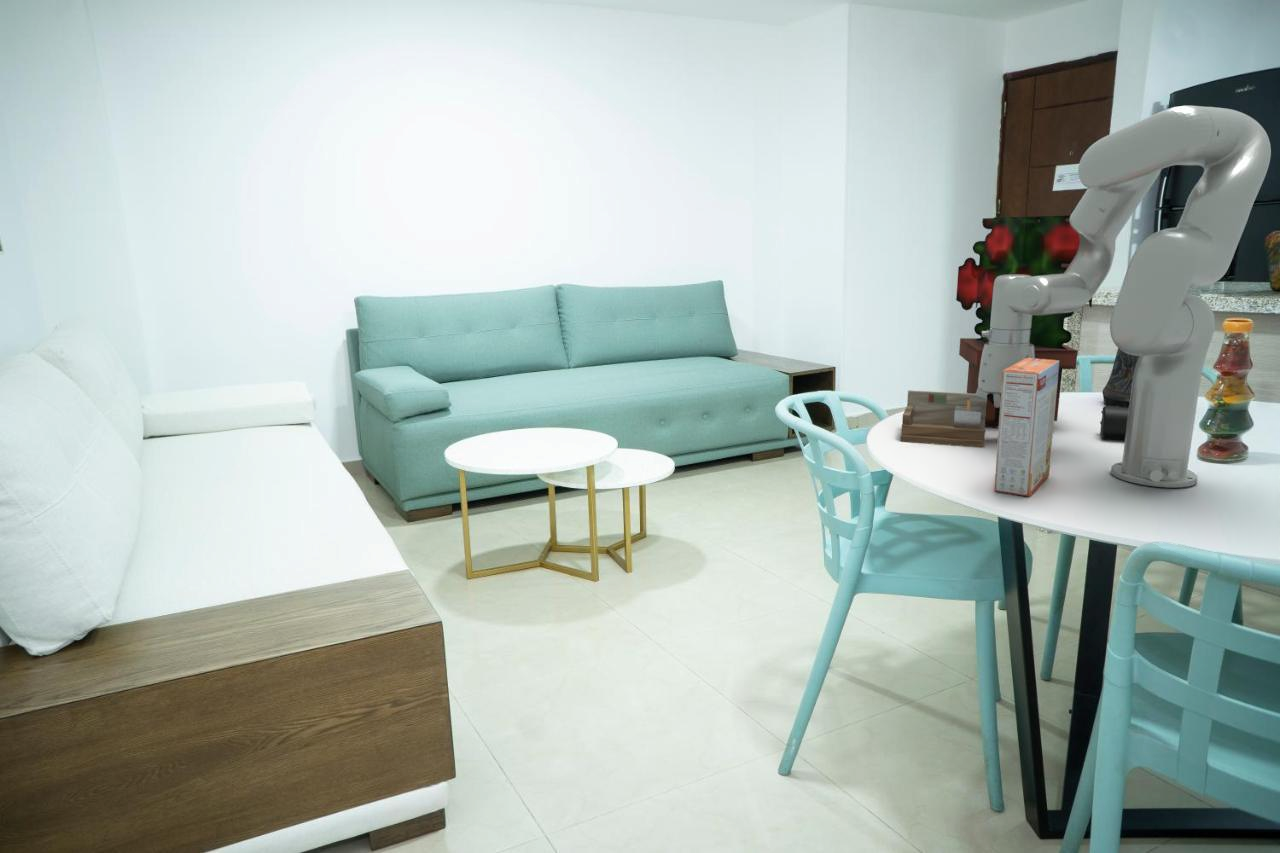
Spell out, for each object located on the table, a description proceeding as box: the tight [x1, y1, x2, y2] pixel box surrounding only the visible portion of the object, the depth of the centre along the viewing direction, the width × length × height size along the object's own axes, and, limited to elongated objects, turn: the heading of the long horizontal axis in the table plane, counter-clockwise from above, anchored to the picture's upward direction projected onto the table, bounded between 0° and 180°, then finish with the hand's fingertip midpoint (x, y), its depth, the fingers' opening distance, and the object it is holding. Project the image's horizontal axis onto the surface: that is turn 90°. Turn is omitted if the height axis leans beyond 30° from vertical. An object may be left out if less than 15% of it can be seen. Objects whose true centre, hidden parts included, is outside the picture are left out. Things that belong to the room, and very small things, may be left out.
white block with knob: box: [954, 400, 981, 429], centre depth 164 cm, size 5×5×6 cm
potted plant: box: [955, 214, 1094, 427], centre depth 173 cm, size 22×22×45 cm
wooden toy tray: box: [900, 389, 987, 448], centre depth 166 cm, size 14×16×8 cm
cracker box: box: [993, 358, 1059, 497], centre depth 132 cm, size 14×6×21 cm, turn 141°
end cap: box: [1099, 405, 1129, 441], centre depth 160 cm, size 10×7×7 cm
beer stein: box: [1102, 347, 1139, 408], centre depth 185 cm, size 16×19×25 cm
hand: (1001, 425), depth 162 cm, fingers closed
